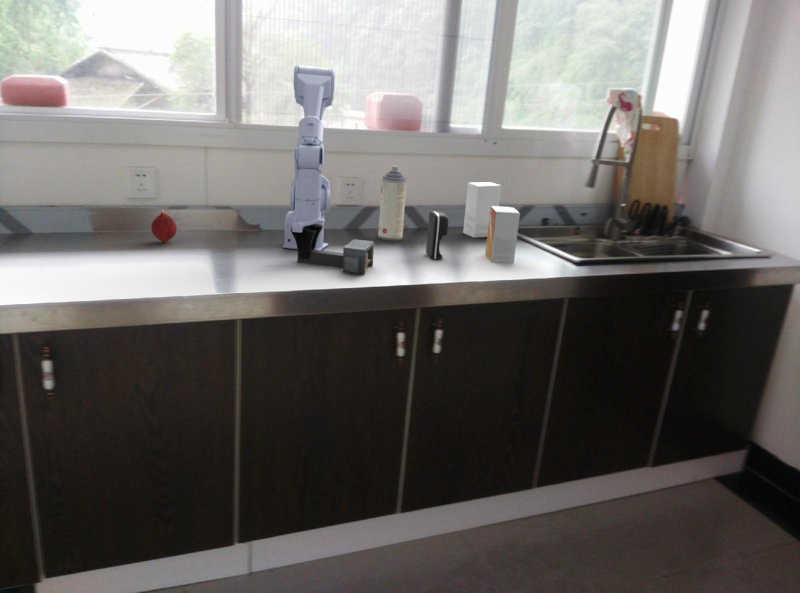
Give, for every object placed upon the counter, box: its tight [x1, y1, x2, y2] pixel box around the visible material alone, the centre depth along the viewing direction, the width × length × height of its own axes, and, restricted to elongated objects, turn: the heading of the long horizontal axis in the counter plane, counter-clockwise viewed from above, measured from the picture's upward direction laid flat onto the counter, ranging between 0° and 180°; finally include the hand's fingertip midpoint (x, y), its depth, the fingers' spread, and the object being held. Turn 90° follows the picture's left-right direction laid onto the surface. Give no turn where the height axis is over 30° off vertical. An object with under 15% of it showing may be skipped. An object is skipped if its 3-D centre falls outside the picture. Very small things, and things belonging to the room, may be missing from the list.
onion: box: [150, 209, 178, 244], centre depth 157 cm, size 6×6×8 cm
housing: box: [341, 238, 375, 276], centre depth 146 cm, size 5×11×6 cm, turn 169°
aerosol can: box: [377, 165, 407, 242], centre depth 178 cm, size 7×7×20 cm
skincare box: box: [462, 181, 502, 238], centre depth 191 cm, size 8×7×16 cm
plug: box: [296, 249, 370, 271], centre depth 149 cm, size 17×4×4 cm, turn 79°
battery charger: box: [425, 210, 449, 260], centre depth 163 cm, size 7×4×11 cm, turn 11°
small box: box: [484, 205, 521, 264], centre depth 166 cm, size 8×6×13 cm
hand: (306, 256), depth 150 cm, fingers closed on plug, 2 cm apart
